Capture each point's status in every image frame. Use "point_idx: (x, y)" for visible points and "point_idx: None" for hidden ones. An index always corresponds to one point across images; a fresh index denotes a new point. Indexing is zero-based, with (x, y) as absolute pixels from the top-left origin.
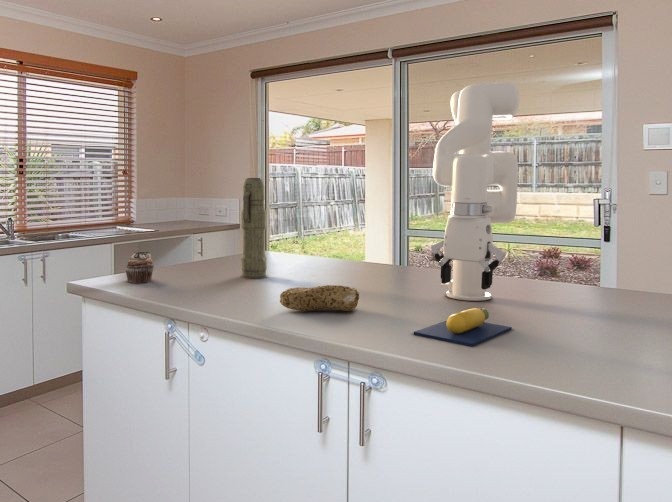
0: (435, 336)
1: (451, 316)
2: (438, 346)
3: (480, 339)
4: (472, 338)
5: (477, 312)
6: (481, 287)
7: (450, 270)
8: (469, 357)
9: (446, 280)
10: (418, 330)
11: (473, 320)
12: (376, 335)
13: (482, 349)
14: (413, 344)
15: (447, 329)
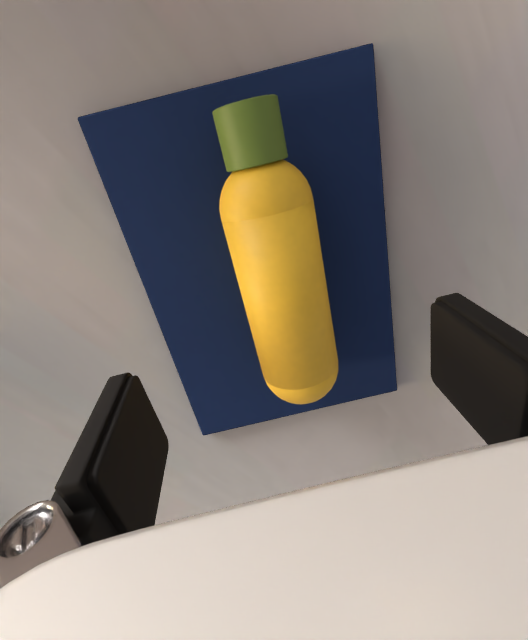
0: (278, 417)
1: (295, 401)
2: (331, 449)
3: (389, 337)
4: (365, 349)
5: (310, 248)
6: (436, 383)
7: (114, 447)
8: (436, 450)
9: (156, 433)
10: (196, 415)
11: (328, 301)
12: (160, 505)
13: (426, 381)
14: (280, 482)
15: (237, 331)
